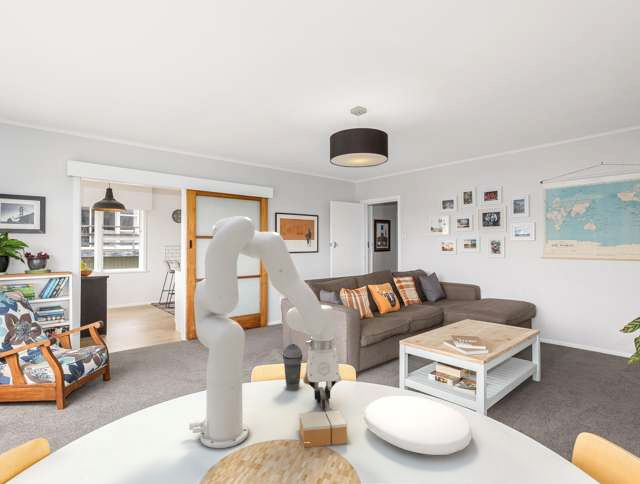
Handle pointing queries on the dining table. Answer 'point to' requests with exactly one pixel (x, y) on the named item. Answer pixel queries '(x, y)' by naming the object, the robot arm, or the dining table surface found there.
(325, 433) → the cake
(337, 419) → the cake slice
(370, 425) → the white round disc
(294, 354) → the beverage cup
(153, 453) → the dining table surface
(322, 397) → the knife
